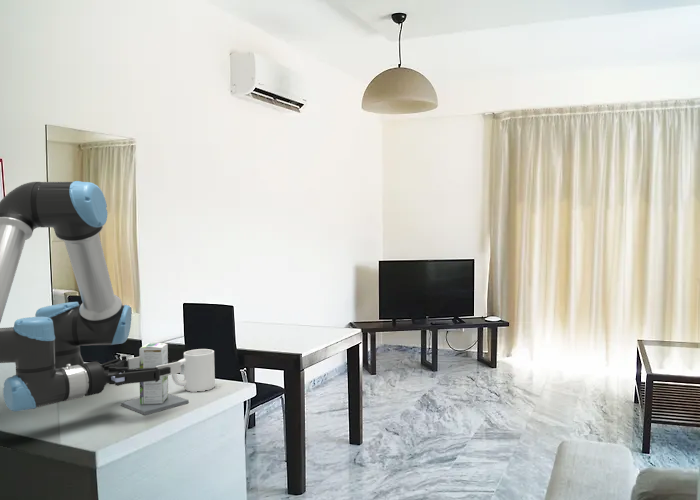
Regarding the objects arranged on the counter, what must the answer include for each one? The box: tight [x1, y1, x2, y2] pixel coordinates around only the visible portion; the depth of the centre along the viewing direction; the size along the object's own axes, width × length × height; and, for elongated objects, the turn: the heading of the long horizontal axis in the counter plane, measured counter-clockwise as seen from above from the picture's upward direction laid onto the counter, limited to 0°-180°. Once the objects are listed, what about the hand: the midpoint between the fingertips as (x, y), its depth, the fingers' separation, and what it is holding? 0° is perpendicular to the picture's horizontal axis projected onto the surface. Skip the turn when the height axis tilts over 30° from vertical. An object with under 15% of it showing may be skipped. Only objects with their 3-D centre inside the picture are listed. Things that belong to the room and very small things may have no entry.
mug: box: [171, 348, 216, 393], centre depth 156 cm, size 12×8×10 cm
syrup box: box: [138, 342, 169, 405], centre depth 142 cm, size 6×6×14 cm
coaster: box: [120, 392, 190, 416], centre depth 143 cm, size 12×12×1 cm
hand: (165, 363), depth 145 cm, fingers open, 13 cm apart
